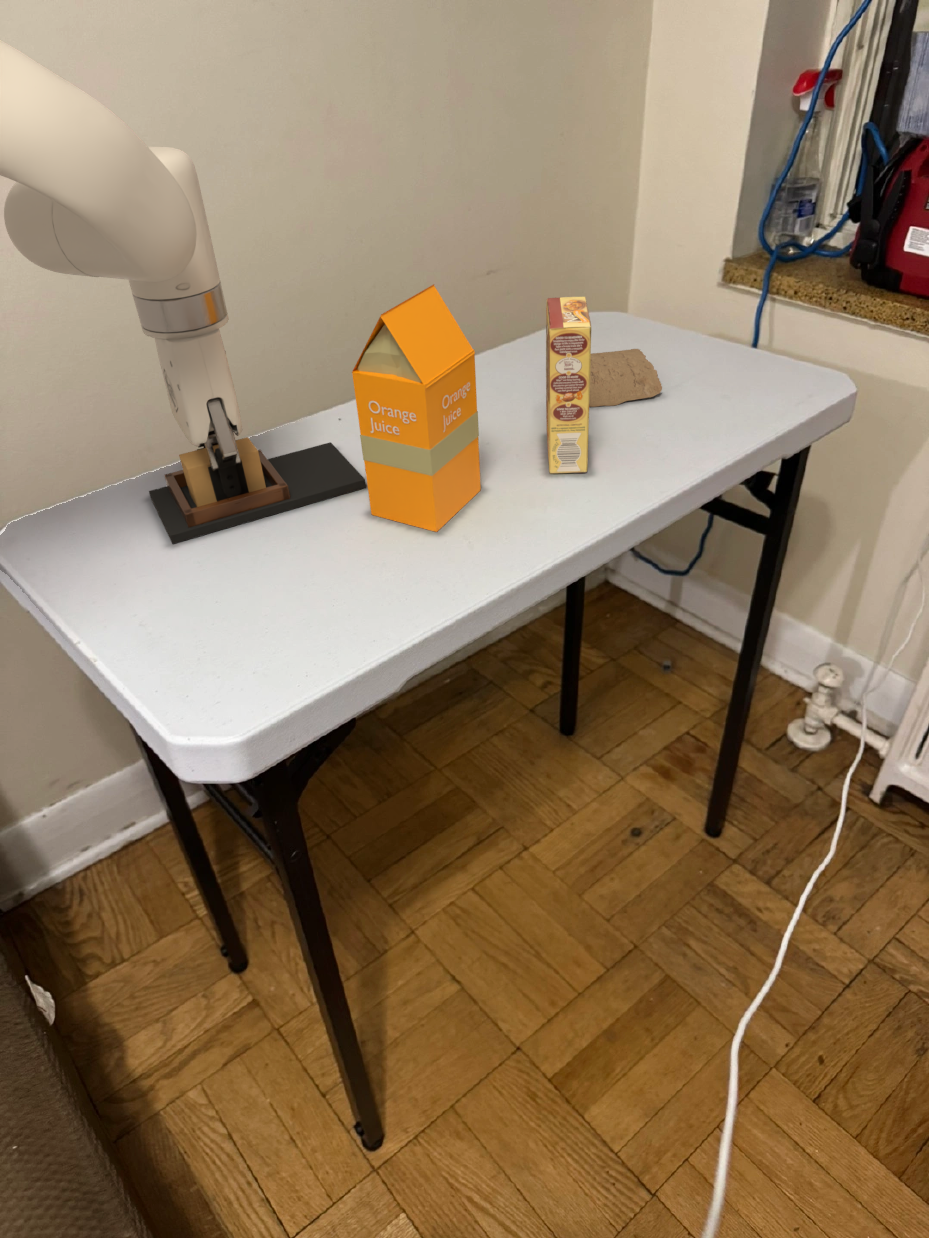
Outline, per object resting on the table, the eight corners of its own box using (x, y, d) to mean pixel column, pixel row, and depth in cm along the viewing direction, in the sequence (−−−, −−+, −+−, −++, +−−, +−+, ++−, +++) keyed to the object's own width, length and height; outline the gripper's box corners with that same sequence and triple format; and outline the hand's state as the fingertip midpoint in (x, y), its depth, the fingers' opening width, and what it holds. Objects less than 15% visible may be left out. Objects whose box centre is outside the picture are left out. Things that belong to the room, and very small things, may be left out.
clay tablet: (665, 397, 102) (667, 375, 101) (582, 407, 101) (583, 386, 100) (625, 353, 114) (626, 333, 112) (551, 362, 113) (551, 342, 111)
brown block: (266, 491, 87) (258, 450, 85) (198, 510, 85) (187, 469, 82) (256, 476, 90) (247, 436, 87) (189, 494, 88) (178, 454, 85)
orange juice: (482, 490, 87) (473, 288, 75) (437, 532, 82) (420, 321, 69) (416, 474, 91) (397, 278, 78) (369, 514, 85) (340, 309, 72)
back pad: (172, 544, 82) (165, 522, 81) (150, 499, 89) (144, 477, 88) (366, 487, 89) (363, 466, 87) (332, 450, 96) (328, 429, 95)
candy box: (588, 474, 89) (594, 326, 79) (547, 475, 89) (548, 327, 80) (582, 435, 96) (587, 294, 86) (544, 436, 96) (545, 296, 87)
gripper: (121, 291, 81) (172, 467, 92) (159, 345, 69) (212, 539, 80) (200, 276, 83) (240, 449, 95) (250, 326, 71) (289, 516, 83)
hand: (227, 489), depth 87 cm, fingers closed on brown block, 3 cm apart
